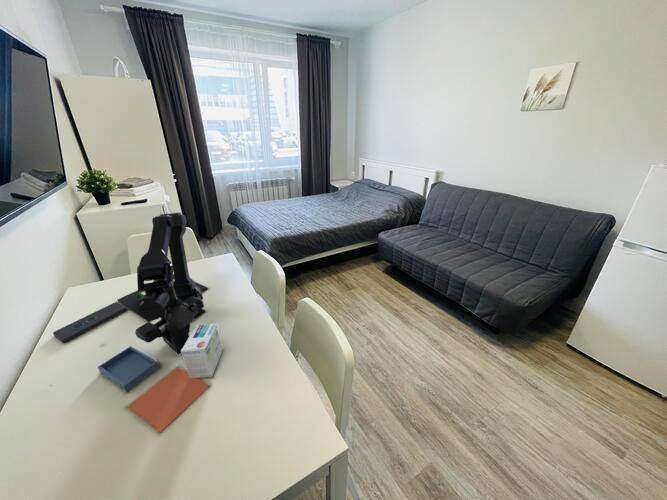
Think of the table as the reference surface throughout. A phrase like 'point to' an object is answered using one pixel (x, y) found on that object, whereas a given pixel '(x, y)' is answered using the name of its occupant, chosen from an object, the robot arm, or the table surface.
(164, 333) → the robot arm
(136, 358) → the slate tray
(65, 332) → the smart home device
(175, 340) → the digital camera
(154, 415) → the terracotta mat
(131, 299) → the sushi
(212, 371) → the light bulb box
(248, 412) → the table surface
